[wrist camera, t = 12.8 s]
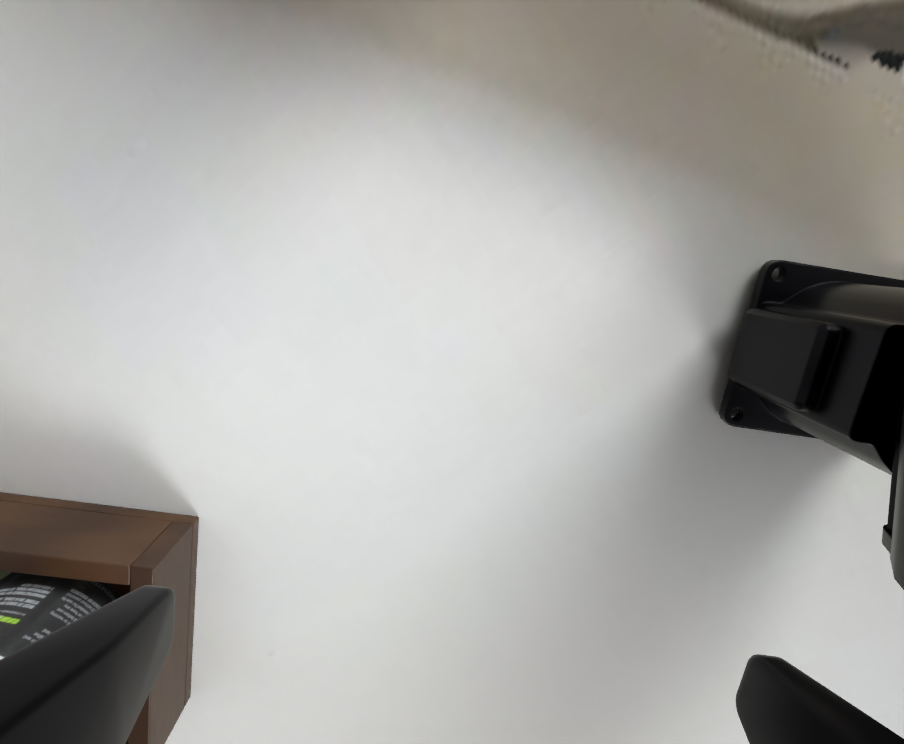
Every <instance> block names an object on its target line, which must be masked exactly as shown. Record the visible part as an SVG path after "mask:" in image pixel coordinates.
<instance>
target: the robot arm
mask: <svg viewBox="0 0 904 744" xmlns="http://www.w3.org/2000/svg"><path fill="white" fill-rule="evenodd" d="M776 268H778V270H779V275H778V277H777V278H776V279H775V280H774V279H773V277H772V273H773V271H774V270H775V269H776ZM728 375H729V379H728V383H727V386H726V390H725V393H724V397H723V400H722V403H721V407H720V412H719V415H720V418H721V419H722V420H723V421H724V422H726V423H727V424H729V425H731V426H735V427H742V428H749V429H755V430H762V431H769V432H776V433H783V434H790V435H797V436H804V437H811V438H818V439H821V440H823V441H825V442H827V443H829V444H831V445H833V446H835V447H837V448H839V449H841V450H843V451H845V452H847V453H849V454H851V455H853V456H855V457H857V458H859V459H861V460H863V461H865V462H867V463H868V464H870V465H872V466H874V467H876V468H878V469H880V470H882V471H884V472H886V473H888V474H890V475H892V479H891V491H890V503H889V514H888V524H887V525H884V526H883V535H882V543H883V545H884V546H885V547H886V549H887V550H888V551H889V553H890V560H891V564H892V569H893V574H894V578H895V580H896V581H897V582H898V583H899V585H900V586H901V587H902V588H903V589H904V281H903V280H897V279H891V278H885V277H879V276H873V275H867V274H861V273H855V272H849V271H843V270H837V269H831V268H825V267H819V266H813V265H807V264H801V263H795V262H789V261H783V260H771V261H769V262H766V263H765V264H764V265H763V266H762V268H761V270H760V272H759V276H758V279H757V282H756V286H755V289H754V293H753V296H752V300H751V303H750V307H749V310H748V311H747V312H746V313H745V315H744V318H743V322H742V325H741V329H740V332H739V336H738V339H737V343H736V346H735V350H734V353H733V356H732V360H731V363H730V367H729V370H728ZM737 408H738V413H737V414H736V416H734V417H731V413H732V411H733V410H734V409H737ZM174 617H175V593H174V590H173V589H171V588H170V587H162V586H153V585H144V586H142V587H139V588H137V589H135V590H133V591H132V592H130V593H128V594H126V595H124V596H122V597H120V598H118V599H116V600H114V601H112V602H110V603H108V604H107V605H105V606H103V607H101V608H99V609H97V610H95V611H93V612H91V613H89V614H87V615H85V616H83V617H82V618H80V619H78V620H76V621H74V622H72V623H70V624H68V625H66V626H64V627H62V628H60V629H58V630H57V631H55V632H53V633H51V634H49V635H47V636H45V637H43V638H41V639H39V640H37V641H35V642H33V643H32V644H30V645H28V646H26V647H24V648H22V649H20V650H18V651H16V652H14V653H12V654H10V655H8V656H7V657H5V658H3V659H1V660H0V744H125V743H126V741H127V739H128V737H129V735H130V733H131V731H132V728H133V726H134V724H135V722H136V720H137V718H138V716H139V714H140V712H141V710H142V708H143V706H144V703H145V701H146V699H147V697H148V695H149V693H150V691H151V689H152V687H153V685H154V683H155V681H156V678H157V676H158V674H159V672H160V670H161V668H162V666H163V664H164V662H165V660H166V658H167V655H168V653H169V651H170V648H171V645H172V642H173V637H174ZM736 707H737V712H738V715H739V718H740V720H741V723H742V725H743V728H744V730H745V733H746V736H747V738H748V741H749V743H750V744H904V739H903V738H901V737H900V736H898V735H897V734H895V733H894V732H892V731H891V730H889V729H888V728H886V727H885V726H883V725H882V724H880V723H879V722H877V721H876V720H874V719H873V718H871V717H870V716H868V715H867V714H865V713H864V712H862V711H861V710H859V709H858V708H856V707H855V706H853V705H852V704H850V703H848V702H847V701H845V700H844V699H842V698H841V697H839V696H838V695H836V694H835V693H833V692H832V691H830V690H829V689H827V688H826V687H824V686H823V685H821V684H820V683H818V682H817V681H815V680H814V679H812V678H811V677H809V676H808V675H806V674H805V673H803V672H802V671H800V670H799V669H797V668H796V667H794V666H793V665H791V664H789V663H788V662H786V661H785V660H783V659H782V658H779V657H775V656H766V655H753V656H752V657H751V658H750V659H749V660H748V662H747V665H746V668H745V671H744V674H743V677H742V680H741V683H740V686H739V688H738V691H737V695H736Z"/></svg>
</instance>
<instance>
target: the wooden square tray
mask: <svg viewBox="0 0 904 744" xmlns="http://www.w3.org/2000/svg"><path fill="white" fill-rule="evenodd" d="M198 522H199V517H196V516H188V515H180V514H172V513H163V512H155V511H147V510H139V509H131V508H123V507H115V506H107V505H98V504H90V503H82V502H74V501H66V500H58V499H50V498H42V497H33V496H25V495H17V494H9V493H1V492H0V580H1V579H2V578H4V577H6V576H7V575H9V574H10V573H11V572H16V573H25V574H33V575H42V576H51V577H60V578H69V579H77V580H86V581H95V582H104V583H113V584H121V585H130V592H132V591H133V590H135V589H137V588H139V587H142V586H144V585H153V586H162V587H170V588H171V589H173V590H174V593H175V617H174V637H173V642H172V645H171V648H170V651H169V653H168V655H167V658H166V660H165V662H164V664H163V666H162V668H161V670H160V672H159V674H158V676H157V678H156V681H155V683H154V685H153V687H152V689H151V691H150V693H149V695H148V697H147V699H146V701H145V703H144V706H143V708H142V710H141V712H140V714H139V716H138V718H137V720H136V722H135V724H134V726H133V728H132V731H131V733H130V735H129V737H128V739H127V741H126V743H125V744H165V742H166V740H167V738H168V736H169V734H170V733H171V731H172V729H173V727H174V725H175V723H176V722H177V720H178V718H179V716H180V714H181V712H182V711H183V709H184V706H185V705H186V703H187V701H188V699H189V698H190V689H191V668H192V647H193V626H194V605H195V585H196V564H197V543H198Z"/></svg>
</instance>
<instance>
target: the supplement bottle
mask: <svg viewBox="0 0 904 744" xmlns="http://www.w3.org/2000/svg"><path fill="white" fill-rule="evenodd" d="M128 593H130V585H121V584H113V583H104V582H95V581H86V580H77V579H69V578H60V577H51V576H42V575H33V574H25V573H16V572H11V573H10V574H9V575H7V576H6V577H4V578H2V579H1V580H0V660H1V659H3V658H5V657H7V656H8V655H10V654H12V653H14V652H16V651H18V650H20V649H22V648H24V647H26V646H28V645H30V644H32V643H33V642H35V641H37V640H39V639H41V638H43V637H45V636H47V635H49V634H51V633H53V632H55V631H57V630H58V629H60V628H62V627H64V626H66V625H68V624H70V623H72V622H74V621H76V620H78V619H80V618H82V617H83V616H85V615H87V614H89V613H91V612H93V611H95V610H97V609H99V608H101V607H103V606H105V605H107V604H108V603H110V602H112V601H114V600H116V599H118V598H120V597H122V596H124V595H126V594H128Z"/></svg>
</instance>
